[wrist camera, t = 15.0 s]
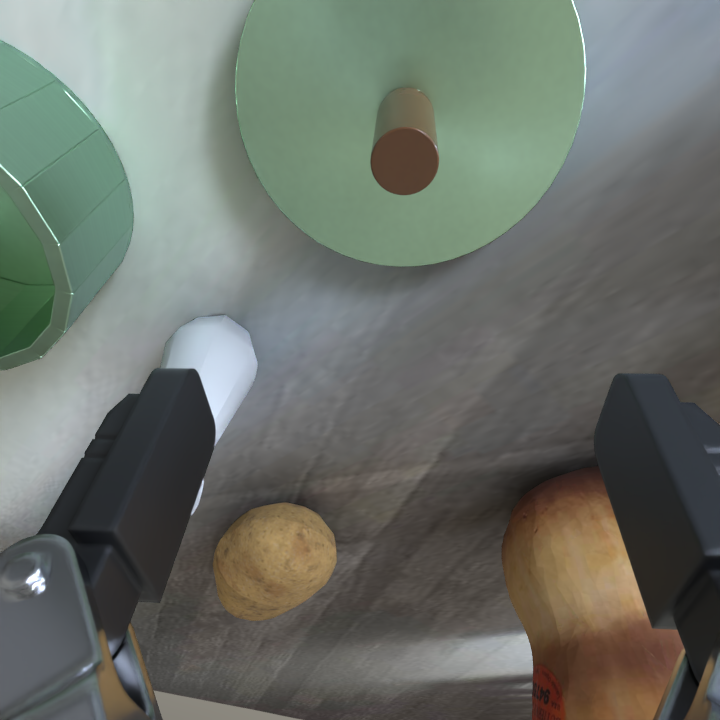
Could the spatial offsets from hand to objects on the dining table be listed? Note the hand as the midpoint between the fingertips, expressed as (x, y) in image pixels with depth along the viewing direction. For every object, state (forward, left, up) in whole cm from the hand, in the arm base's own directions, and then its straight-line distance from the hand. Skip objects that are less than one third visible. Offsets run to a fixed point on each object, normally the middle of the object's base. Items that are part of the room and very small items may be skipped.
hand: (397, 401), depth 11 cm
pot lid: (0, 0, -19) cm, 19 cm away
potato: (+35, -11, -20) cm, 41 cm away
